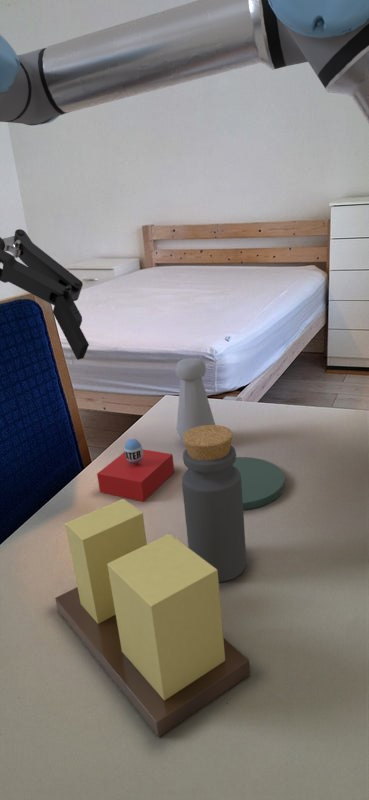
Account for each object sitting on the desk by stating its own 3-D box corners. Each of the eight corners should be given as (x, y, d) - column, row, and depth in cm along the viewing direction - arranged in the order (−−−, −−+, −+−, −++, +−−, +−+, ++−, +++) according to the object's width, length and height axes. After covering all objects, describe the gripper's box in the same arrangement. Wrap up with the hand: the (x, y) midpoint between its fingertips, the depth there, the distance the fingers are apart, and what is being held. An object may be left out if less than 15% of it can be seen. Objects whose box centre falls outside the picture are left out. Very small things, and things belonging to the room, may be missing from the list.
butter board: (136, 570, 63) (134, 558, 62) (250, 674, 49) (249, 660, 48) (57, 610, 58) (54, 597, 57) (158, 737, 44) (156, 722, 43)
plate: (242, 454, 85) (241, 448, 84) (304, 485, 75) (304, 478, 75) (173, 485, 79) (172, 478, 78) (231, 522, 69) (230, 514, 69)
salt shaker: (193, 431, 94) (185, 352, 89) (223, 438, 90) (217, 356, 86) (170, 446, 89) (161, 364, 85) (202, 454, 86) (194, 369, 81)
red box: (143, 501, 75) (137, 457, 73) (100, 492, 79) (93, 449, 76) (174, 472, 82) (169, 430, 79) (132, 464, 85) (127, 424, 83)
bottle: (181, 558, 64) (167, 431, 58) (230, 541, 66) (221, 417, 60) (205, 590, 59) (192, 454, 53) (256, 571, 61) (249, 438, 55)
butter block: (179, 618, 53) (169, 533, 50) (225, 660, 48) (217, 569, 45) (121, 651, 50) (106, 563, 47) (164, 701, 45) (151, 606, 42)
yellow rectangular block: (134, 576, 59) (123, 498, 56) (153, 594, 57) (142, 512, 53) (80, 604, 56) (64, 523, 53) (98, 624, 54) (82, 540, 50)
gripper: (45, 221, 75) (120, 358, 69) (-176, 252, 63) (-108, 422, 56) (56, 175, 69) (138, 320, 63) (-187, 198, 57) (-113, 383, 50)
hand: (22, 369), depth 60 cm, fingers open, 13 cm apart
